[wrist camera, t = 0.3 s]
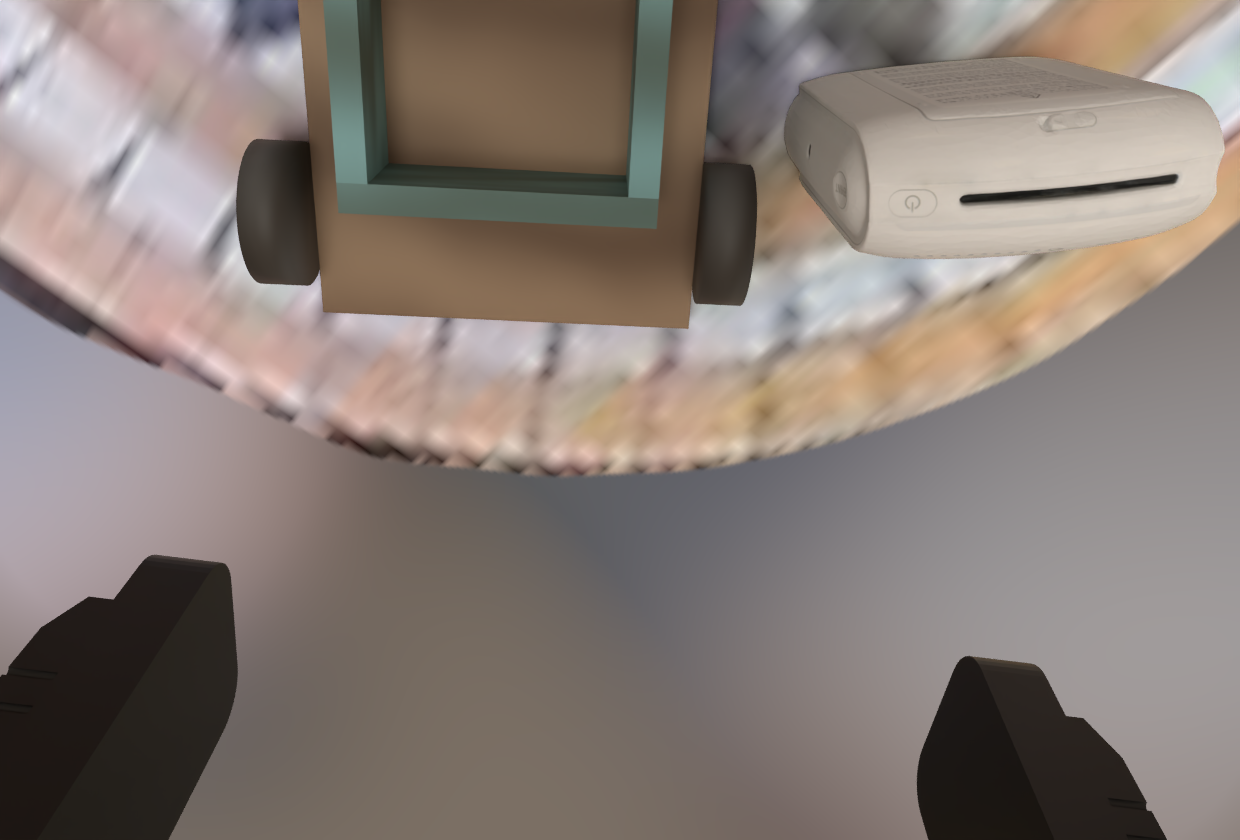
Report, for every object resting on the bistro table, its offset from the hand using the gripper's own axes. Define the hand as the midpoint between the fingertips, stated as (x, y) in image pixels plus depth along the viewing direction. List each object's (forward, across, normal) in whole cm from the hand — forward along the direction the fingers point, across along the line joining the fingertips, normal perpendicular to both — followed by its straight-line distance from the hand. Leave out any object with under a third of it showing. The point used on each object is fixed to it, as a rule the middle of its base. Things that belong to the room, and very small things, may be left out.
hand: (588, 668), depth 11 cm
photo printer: (+29, -10, -2) cm, 31 cm away
